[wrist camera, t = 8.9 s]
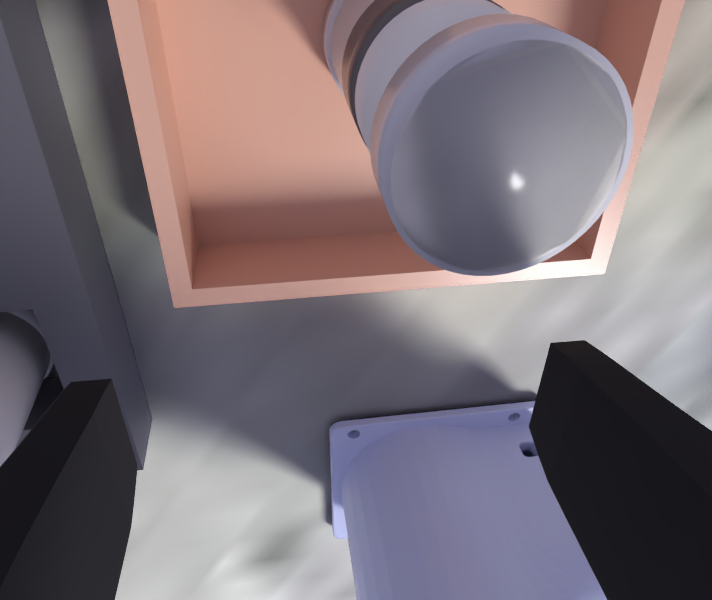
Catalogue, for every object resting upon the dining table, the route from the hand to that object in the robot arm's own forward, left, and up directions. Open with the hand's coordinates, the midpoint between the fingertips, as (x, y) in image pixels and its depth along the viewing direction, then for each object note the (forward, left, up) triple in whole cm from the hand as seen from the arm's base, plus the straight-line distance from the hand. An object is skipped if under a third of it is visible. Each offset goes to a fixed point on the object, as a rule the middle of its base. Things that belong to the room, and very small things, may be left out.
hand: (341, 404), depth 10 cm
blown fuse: (-3, -4, -10) cm, 11 cm away
